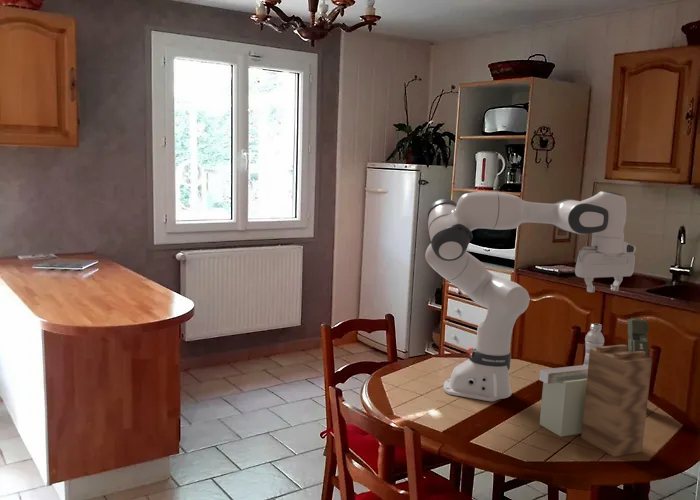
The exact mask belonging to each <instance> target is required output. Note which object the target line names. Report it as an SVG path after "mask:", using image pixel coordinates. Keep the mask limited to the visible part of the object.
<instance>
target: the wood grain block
mask: <svg viewBox="0 0 700 500" xmlns="http://www.w3.org/2000/svg"><path fill="white" fill-rule="evenodd" d="M645 354H646V352H644V351H635V352H632V351H629V350H628V344H627V345H626V344H623V343H622V344H615V345H603V346H602V347H597V348H594V349H590V354H589V364H588V374H587V384H586V394H585V405H584V415H583V425H582V433H581V434H580V435H581V437H580V438H581V439H582V440H584V441H586V442H587V443H589V444H590V445H593V446H594V447H596V448H598V449H599V450H600V451H601V450H602V451H603V452H605V453H606V454H608V455H610V456H611V457H614V458H615V457H620V456H626V455H630V454H631V455H632V454H637V453H641V452H643V447H644V446H643V444H644V436H645V426H646V418H647V411H648V410H647V409H648V399H649V391H650V382H651V372H652V365H653V358H651V357H649V356H648V357H646V356H645Z"/></svg>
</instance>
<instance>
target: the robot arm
mask: <svg viewBox="0 0 700 500" xmlns="http://www.w3.org/2000/svg"><path fill="white" fill-rule="evenodd" d="M427 223H428V224H427V225H428V227H427V228H428V234H429V238H430V243H429V245H428V246H427V248H426V250H425V254H424V257H425V261H426V262H427V264H428V265H429V266H430V267H431V268H432V269H433V270H434V271H435V272H436V273H438V275H440V276H441V277H442V278H444V279H445V280H446V281H448V282H449V283H451V284H452V285H453V286H455V287H456V288H458V289H459V290H460V291H462V292H463V293H465V294H466V296H467V297H468V298H470V299H471V301H473V302H474V303H475V304H477V305H478V306H481V307H483V308H485V309H487V313H486V316H485V319H484V321H483V322H481V323H480V324H479V325H478V326H477V329H476V331H477V332H476V340H475V341H476V343H475V348H474V347H472V346H470V347H468V348H467V352H468V354H469V355H468V359H466V360H465V361H463V362H462V363H459V364H458V365H456V366H455V367H454V368H453V370H452V372H451V375H450V378H447V379H446V380H444V382H443V391H444V392H445V393H447V394H448V395H450V396H456V397H457V396H458V397H464V398H469V399H474V400H481V401H487V402H496V401H497V400H501V399H502V400H503V399H507V398H509V397H511V396H512V389H511V385H510V383H511V382H510V368H511V363H512V354H511V343H512V342H511V341H512V340H511V339H512V335H513V334H512V333H513V328H514V326H515V324H516V321H517V319H518V318H519V317H520V316H521V315H522V314H524V313H525V312H526V311H527V309H528V307H529V305H530V294H529V292H528V290H527V289H526V288H525V287H523V286H522V285H520V284H519V283H517V282H515V281H513V280H509V279H506V278H503V277H500V276H497V275H495V274H493V273H491V272H490V271H489V270H488V269H487V268H486V266H485V264H484V263H483V262H482V261H480V260H479V259H478V258H476V257H475V256H474V255H472V254H471V253H469V252H468V251H467V250H468V247H469V244H470V242H471V241H472V240H473V237H474V236H473V235H474V234H473V233H472V231H474V230H477V229H487V230H497V231H498V230H499V231H501V230H503V231H504V230H513V229H514V230H515V229H517V228H518V227H519V226H520V225H521V224H526V223H532V224H533V223H534V224H535V223H536V224H549V225H553V226H554V227H555V228H557V229H559V230H562V231H564V232H569V233H574V234H577V235H586V234H587V235H588V234H592V235H591V244H590V245H591V246H590V245H589V246H587V245H585V246H583V247H582V248H581V249H580V250H579V251H578V255H577V259H576V264H575V270H574V274H575V276H576V277H578V278H582V279H584V283H585V285H586V292H588V293H595V292H596V286H595V285H593V282H594V279H595V278H596V279H597V278H613V279H614V281H613V283H612V284H610V291H612V292H618V291H619V290H620V288H619V287H620V285H621V283H622V282H623V280H624V279H623V278H624V277H632V275H633V274H634V272H635V265H636V255H635V253H636V251H637V247H636V245H634V244H631V243H629V242H627V241H625V232H624V228H625V225H626V223H627V201H626V197H625V196H624V195H623V194H620V193H617V192H613V191H607V190H601V191H599V192H598V193H597V194H594V195H593V196H591V197H588V198H586V199H582V200H581V201H580V200H577V199H572V198H565V199H562V200H559V201H557V202H554V203H553V202H552V203H546V202H545V203H544V202H534V201H533V202H531V201H526V200H523V198H521V197H520V196H517V195H515V194H512V193H511V194H510V193H507V192H499V191H472V192H466V193H463V194H462V195H461V196H460V197H459V198H458V201H457V202H455V201H454V200H452V199H448V198H440V199H438V200H436V201H434V202H433V203H432V204H431V205H430V207H429V209H428V212H427Z"/></svg>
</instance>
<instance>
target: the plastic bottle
mask: <svg viewBox="0 0 700 500" xmlns="http://www.w3.org/2000/svg"><path fill="white" fill-rule="evenodd" d="M602 327H603V325H602V324H600V323H596V322H595V323H593V322H591V323H590V327H589V329H590V330H588V332H587V334H585V338H584V341H585V342H584V345H585V356H584V361H583V364H582V365H588V364H589V354H590V349H594V348H597V347H602V346H604V345H605V337H604V335H603V333H602V332H601V331H602Z"/></svg>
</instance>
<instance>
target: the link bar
mask: <svg viewBox="0 0 700 500" xmlns="http://www.w3.org/2000/svg"><path fill="white" fill-rule="evenodd" d="M587 374H588V365H583V364H581V365H572V366H571V365H570V366H563V367H554V368H544V369H540V370H539V380H538V381H540V382H545V383H547V384H551V383H560V382H563V381H569V380H577V379H586V378H587Z"/></svg>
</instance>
